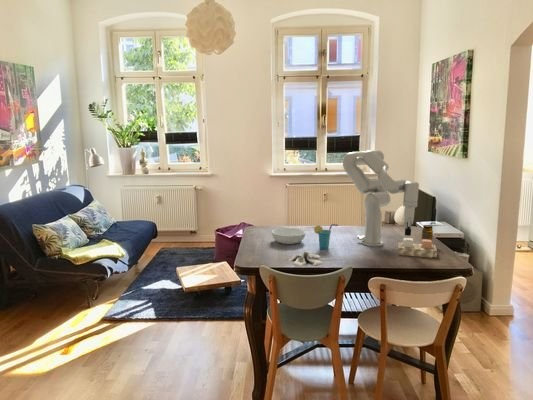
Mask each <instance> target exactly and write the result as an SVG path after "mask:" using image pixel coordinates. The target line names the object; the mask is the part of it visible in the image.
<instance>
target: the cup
mask: <svg viewBox="0 0 533 400" xmlns="http://www.w3.org/2000/svg"><path fill="white" fill-rule="evenodd" d="M332 226H335V227H338V226H339V225H338V224H336V223H331V224H330V227H329V229H323V227H322V226H321V225H316V226H315V227H314V229H313V231H314V233H315V234H317V235H318V243H319V244H318V245H319V247H318V248H319V250H321V251H328V250H329V249H330V248H329V247H330V240H331V239H330V238H331V232H332V231H331V230H332Z"/></svg>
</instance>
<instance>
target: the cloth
mask: <svg viewBox="0 0 533 400" xmlns="http://www.w3.org/2000/svg"><path fill="white" fill-rule="evenodd" d="M320 258H321V256H320V255H319V254H315V253H313V254H311V253H310V252H309V251H308V250H305V251H303V253H302V254H295V255H293V256H292V257H291V258H290V259H288V262H293V261H294V262H293V265H295V266H298V267H303V266H305V265H307V263H310V264H311V265H312V264H313V265H315V266H318V265H321V264H323V263H322V261H321V260H318V259H320ZM313 265H312V266H313Z"/></svg>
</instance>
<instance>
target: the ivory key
mask: <svg viewBox="0 0 533 400" xmlns="http://www.w3.org/2000/svg"><path fill="white" fill-rule="evenodd" d="M402 243H403V247H413V243H414V238H411V237H409V238H408V237H403V241H402Z"/></svg>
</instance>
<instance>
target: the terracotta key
mask: <svg viewBox="0 0 533 400" xmlns="http://www.w3.org/2000/svg"><path fill="white" fill-rule="evenodd" d="M421 242H422V247H421V248H426V249H432V244H433V240H432V241H431V240H427V239H423V240H422V239H421Z"/></svg>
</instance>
